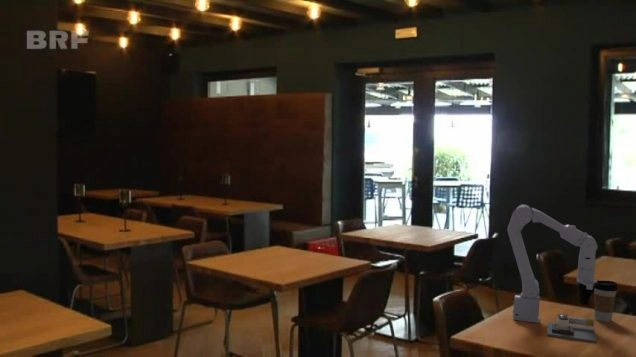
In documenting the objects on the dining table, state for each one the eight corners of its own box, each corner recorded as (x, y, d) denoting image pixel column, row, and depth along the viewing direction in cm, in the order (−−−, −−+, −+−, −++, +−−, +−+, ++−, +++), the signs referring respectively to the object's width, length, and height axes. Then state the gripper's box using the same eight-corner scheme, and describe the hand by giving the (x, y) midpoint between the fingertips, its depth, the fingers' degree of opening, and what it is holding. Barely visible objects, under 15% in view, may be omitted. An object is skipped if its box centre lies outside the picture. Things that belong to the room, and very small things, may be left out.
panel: (547, 336, 216) (547, 330, 216) (547, 323, 231) (548, 318, 231) (596, 343, 211) (596, 337, 211) (594, 329, 226) (594, 324, 225)
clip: (557, 322, 226) (558, 315, 226) (557, 319, 229) (558, 313, 228) (593, 327, 221) (594, 320, 221) (593, 324, 224) (593, 318, 224)
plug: (555, 331, 219) (556, 318, 218) (555, 328, 223) (556, 314, 223) (569, 334, 217) (570, 319, 217) (569, 330, 222) (570, 316, 221)
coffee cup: (617, 323, 234) (620, 285, 233) (594, 321, 236) (596, 283, 235) (611, 317, 242) (614, 280, 241) (588, 315, 244) (591, 278, 243)
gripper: (602, 273, 220) (600, 310, 221) (593, 265, 234) (590, 299, 235) (581, 271, 222) (579, 308, 223) (573, 263, 236) (571, 298, 237)
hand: (583, 304), depth 229 cm, fingers closed
